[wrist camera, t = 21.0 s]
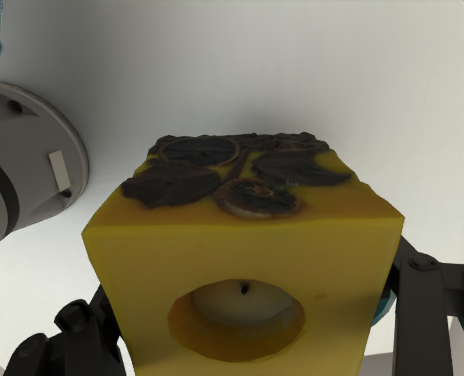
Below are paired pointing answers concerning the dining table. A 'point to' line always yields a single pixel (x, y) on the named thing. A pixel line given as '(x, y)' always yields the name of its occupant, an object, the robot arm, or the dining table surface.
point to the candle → (244, 257)
